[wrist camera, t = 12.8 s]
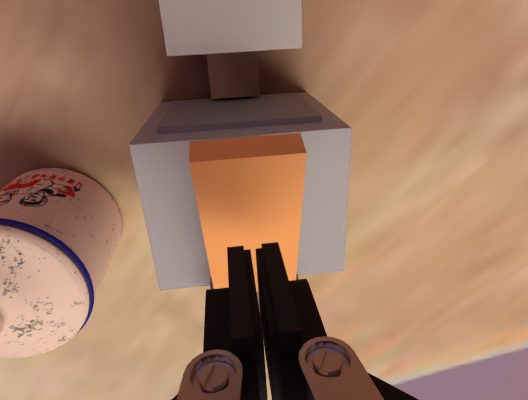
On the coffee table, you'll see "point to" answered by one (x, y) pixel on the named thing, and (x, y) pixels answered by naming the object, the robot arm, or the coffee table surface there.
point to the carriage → (230, 25)
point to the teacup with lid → (52, 257)
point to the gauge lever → (249, 197)
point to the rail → (233, 74)
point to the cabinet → (235, 126)
